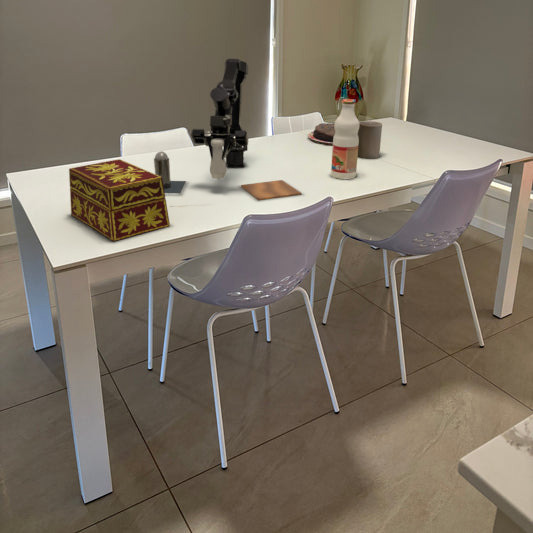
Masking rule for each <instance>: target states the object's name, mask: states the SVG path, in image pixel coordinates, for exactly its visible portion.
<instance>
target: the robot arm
mask: <svg viewBox="0 0 533 533" xmlns="http://www.w3.org/2000/svg"><path fill="white" fill-rule="evenodd" d="M223 68H224V71H223V77H222V79H221V81H220V82H217V85H216V87H214V88H212V89H211V91H210V92H209V93H210V94H209V95H210V99H211V103H212V107H213V109H214V115H210V117H209V127H210V131H205V129H204V128H192V130H191V133H190V136H191V139H192V142H193V144H195V145H204V146H206V147H208V150H209V155H210V160H211V159H213V151H212V150H213V147H212V146H211V140H213V139H217V138H219V139H223V141H224V146H223V147H222V149H223V154H222V160H224V159H225V164H226V167H227V168H244V167H245V161H244V156H245V155H244V154H245V152H248V146H249V134H248V131H247V130H244V129H243V127H242V126H241V121H242V120H241V118H242V97H243V96H242V95H243V85H244V84H245V82H246V81H247V75H248V74H249V65H248V63H247V62H246V61H242V60H241V59H239V58H227V59H225V61H224V67H223Z"/></svg>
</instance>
